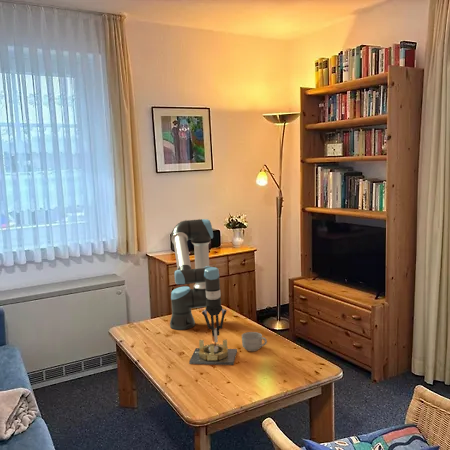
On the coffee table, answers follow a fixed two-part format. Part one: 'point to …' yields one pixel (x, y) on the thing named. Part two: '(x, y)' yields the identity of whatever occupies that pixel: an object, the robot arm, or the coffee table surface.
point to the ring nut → (213, 356)
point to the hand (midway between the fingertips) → (216, 341)
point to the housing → (225, 361)
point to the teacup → (252, 341)
